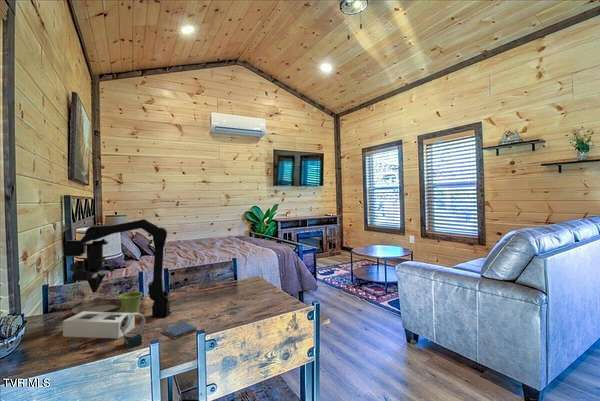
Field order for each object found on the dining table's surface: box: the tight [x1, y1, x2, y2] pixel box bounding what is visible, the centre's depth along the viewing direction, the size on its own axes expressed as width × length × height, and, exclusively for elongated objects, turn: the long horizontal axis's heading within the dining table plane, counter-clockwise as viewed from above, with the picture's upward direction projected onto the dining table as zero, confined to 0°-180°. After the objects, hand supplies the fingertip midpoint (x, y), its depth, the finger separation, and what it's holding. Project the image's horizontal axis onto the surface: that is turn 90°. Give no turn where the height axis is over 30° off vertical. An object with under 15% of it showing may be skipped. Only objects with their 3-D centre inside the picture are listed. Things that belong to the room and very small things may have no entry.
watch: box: [120, 312, 146, 350], centre depth 111 cm, size 6×8×11 cm
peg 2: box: [105, 315, 119, 320], centre depth 121 cm, size 5×5×6 cm
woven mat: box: [161, 321, 199, 340], centre depth 122 cm, size 10×11×2 cm
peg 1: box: [81, 314, 95, 319], centre depth 122 cm, size 5×5×6 cm
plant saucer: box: [71, 298, 122, 316], centre depth 143 cm, size 21×21×3 cm
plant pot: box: [118, 291, 143, 313], centre depth 141 cm, size 9×9×9 cm
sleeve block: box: [62, 311, 136, 340], centre depth 121 cm, size 22×10×6 cm, turn 87°
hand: (94, 292), depth 130 cm, fingers closed
